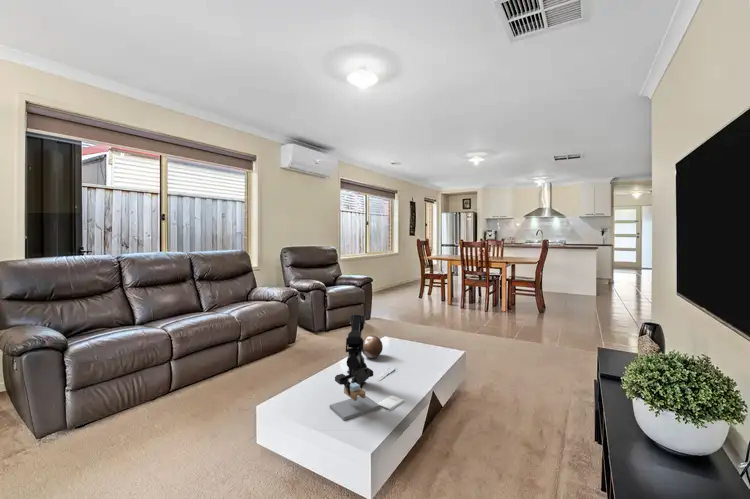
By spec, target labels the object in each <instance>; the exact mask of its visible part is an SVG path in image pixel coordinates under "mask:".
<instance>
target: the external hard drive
mask: <svg viewBox="0 0 750 499" xmlns="http://www.w3.org/2000/svg"><path fill="white" fill-rule="evenodd" d="M402 402H403V403H405V399H404V398H401V397H398V396H395V395H393V394H392V395H390V396H387V397H386V398H384V399H383V400H381V401H380V402H376V403H377V404H379V405H380V409H383V408H384V410H386V411H388V410H389V412H391V411H392V410H394V409H395V408H397V407H398V406H399V404H400V405H401V404H403V403H402ZM396 406H397V407H396Z"/></svg>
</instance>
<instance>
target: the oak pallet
mask: <svg viewBox="0 0 750 499" xmlns="http://www.w3.org/2000/svg"><path fill="white" fill-rule="evenodd" d="M343 394H344V395H347V397H349V399H353V400H354V401H356V400H357V397H358V396H360V397H362V398H365V395H366V390H364V389H363V388H362V389H361V388H360V390H356V391H351V390H350V395H348V393H347V391H346V388H345V386H344V387H343Z"/></svg>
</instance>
